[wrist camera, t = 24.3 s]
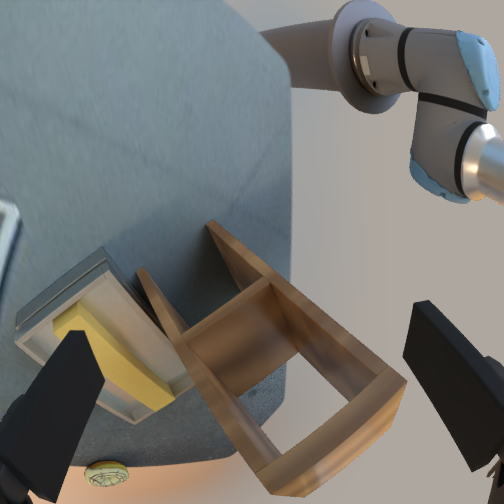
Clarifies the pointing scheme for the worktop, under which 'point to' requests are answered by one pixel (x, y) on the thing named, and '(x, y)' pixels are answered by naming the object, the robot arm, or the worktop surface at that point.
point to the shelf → (271, 358)
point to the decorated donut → (106, 473)
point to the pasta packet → (115, 358)
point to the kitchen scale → (113, 320)
